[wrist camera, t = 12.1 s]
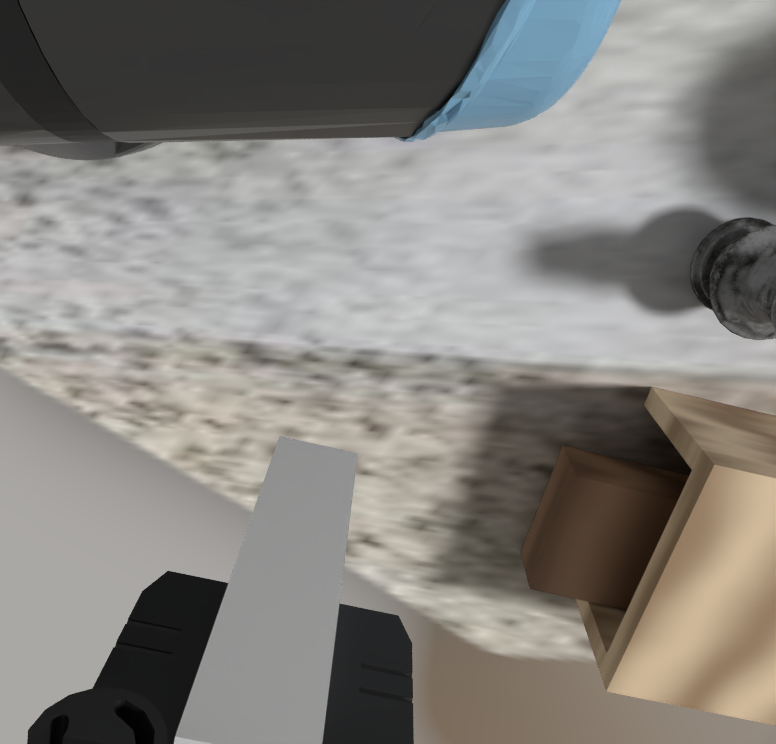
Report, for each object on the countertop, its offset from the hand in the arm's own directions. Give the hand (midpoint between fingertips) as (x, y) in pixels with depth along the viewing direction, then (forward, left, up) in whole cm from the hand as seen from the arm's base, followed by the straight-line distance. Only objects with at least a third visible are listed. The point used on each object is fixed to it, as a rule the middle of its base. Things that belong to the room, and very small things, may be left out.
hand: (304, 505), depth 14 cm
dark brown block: (+20, -14, -27) cm, 36 cm away
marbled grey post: (+20, +3, -27) cm, 33 cm away
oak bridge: (+23, -12, -26) cm, 37 cm away
